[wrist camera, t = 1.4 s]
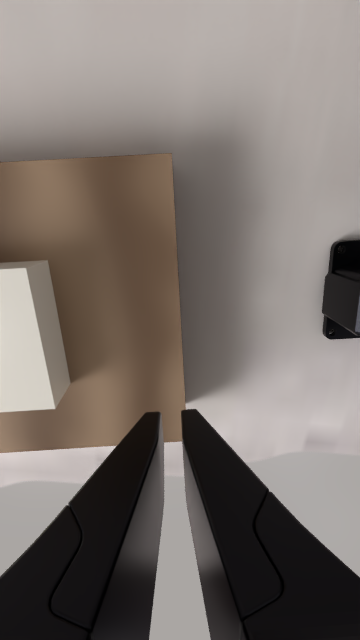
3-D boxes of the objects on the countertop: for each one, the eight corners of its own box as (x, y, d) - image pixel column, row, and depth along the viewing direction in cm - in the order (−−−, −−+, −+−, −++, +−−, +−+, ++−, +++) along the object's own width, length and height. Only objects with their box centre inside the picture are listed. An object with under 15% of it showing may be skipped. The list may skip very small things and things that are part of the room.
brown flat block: (171, 166, 18) (171, 153, 14) (184, 404, 23) (187, 440, 19) (-125, 182, 18) (-204, 173, 14) (-47, 418, 23) (-89, 458, 19)
